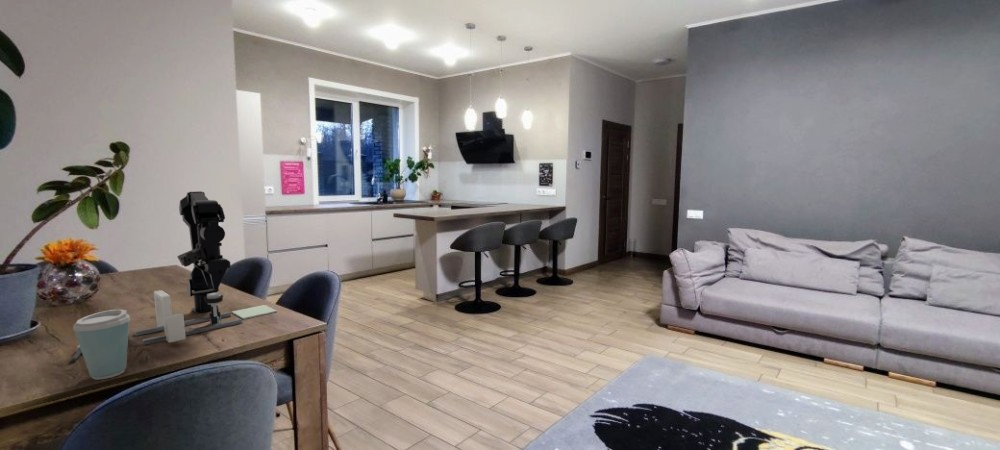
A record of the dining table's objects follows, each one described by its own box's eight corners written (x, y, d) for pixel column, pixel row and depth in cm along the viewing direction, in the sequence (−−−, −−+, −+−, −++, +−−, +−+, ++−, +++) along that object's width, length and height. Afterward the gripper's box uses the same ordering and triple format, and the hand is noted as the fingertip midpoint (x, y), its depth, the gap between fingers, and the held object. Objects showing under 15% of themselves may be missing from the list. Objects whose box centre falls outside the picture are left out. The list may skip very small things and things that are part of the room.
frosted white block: (153, 327, 143) (149, 291, 141) (168, 323, 146) (165, 289, 144) (168, 342, 129) (165, 303, 128) (185, 338, 132) (182, 300, 131)
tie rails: (135, 334, 140) (134, 331, 140) (229, 315, 159) (229, 311, 159) (143, 345, 132) (143, 341, 131) (242, 322, 150) (242, 319, 150)
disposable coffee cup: (104, 385, 106) (97, 323, 104) (66, 382, 108) (58, 320, 106) (146, 366, 117) (140, 309, 115) (111, 364, 118) (105, 307, 117)
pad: (232, 312, 162) (232, 311, 162) (264, 306, 170) (264, 304, 170) (243, 319, 154) (243, 318, 154) (276, 312, 162) (276, 310, 162)
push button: (205, 322, 151) (202, 292, 150) (223, 319, 155) (221, 290, 153) (206, 327, 146) (204, 297, 145) (226, 324, 149) (223, 294, 148)
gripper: (171, 240, 148) (175, 287, 149) (187, 246, 135) (191, 297, 137) (210, 236, 156) (214, 281, 158) (229, 241, 143) (232, 290, 145)
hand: (212, 287), depth 149 cm, fingers open, 6 cm apart
